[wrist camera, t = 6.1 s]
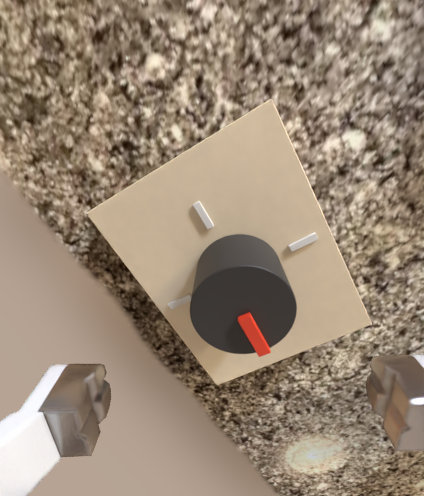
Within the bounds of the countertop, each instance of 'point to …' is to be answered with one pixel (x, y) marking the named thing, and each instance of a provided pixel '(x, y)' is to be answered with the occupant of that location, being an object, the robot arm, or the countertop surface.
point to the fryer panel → (230, 223)
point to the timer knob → (242, 296)
